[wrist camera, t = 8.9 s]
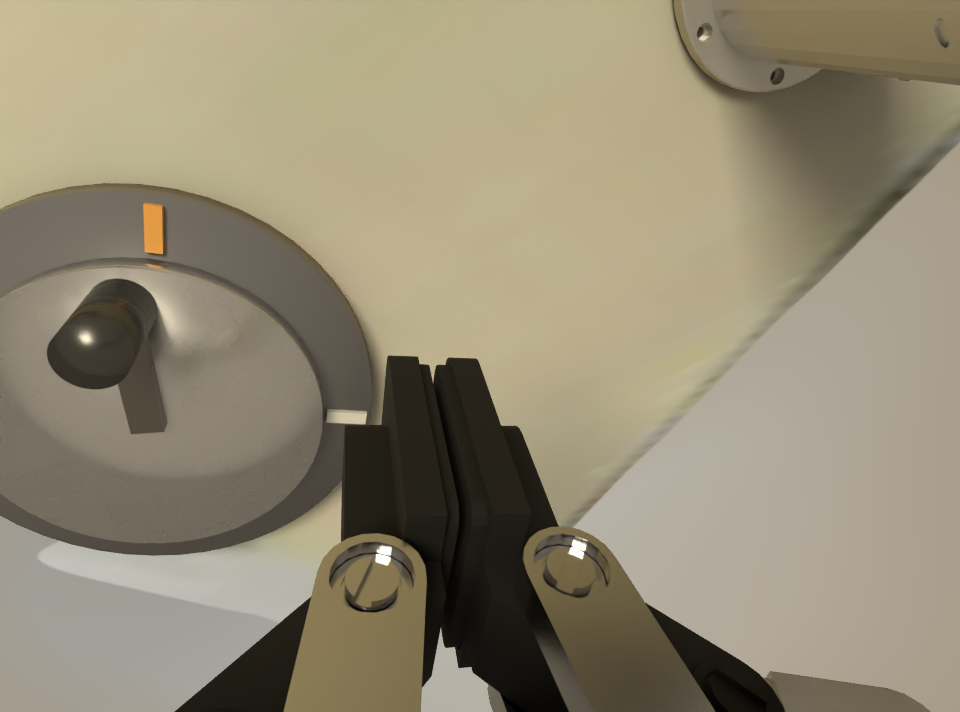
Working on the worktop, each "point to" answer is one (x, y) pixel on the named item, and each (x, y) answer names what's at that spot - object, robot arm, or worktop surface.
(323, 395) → the dial base
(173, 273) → the dial
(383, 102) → the worktop surface
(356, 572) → the robot arm
